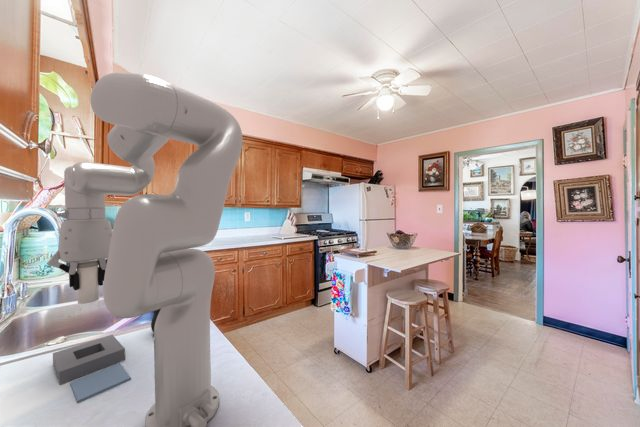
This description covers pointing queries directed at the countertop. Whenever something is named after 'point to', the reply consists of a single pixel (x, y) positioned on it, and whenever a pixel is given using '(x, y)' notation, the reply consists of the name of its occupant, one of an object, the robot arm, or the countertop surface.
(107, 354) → the socket block
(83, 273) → the plug
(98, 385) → the mat
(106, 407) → the countertop surface
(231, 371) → the countertop surface
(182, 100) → the robot arm
